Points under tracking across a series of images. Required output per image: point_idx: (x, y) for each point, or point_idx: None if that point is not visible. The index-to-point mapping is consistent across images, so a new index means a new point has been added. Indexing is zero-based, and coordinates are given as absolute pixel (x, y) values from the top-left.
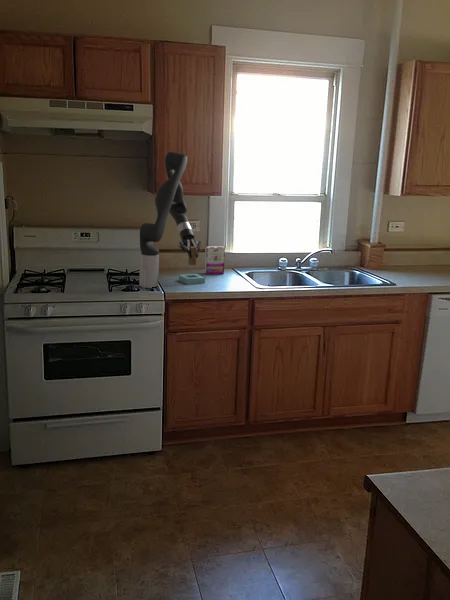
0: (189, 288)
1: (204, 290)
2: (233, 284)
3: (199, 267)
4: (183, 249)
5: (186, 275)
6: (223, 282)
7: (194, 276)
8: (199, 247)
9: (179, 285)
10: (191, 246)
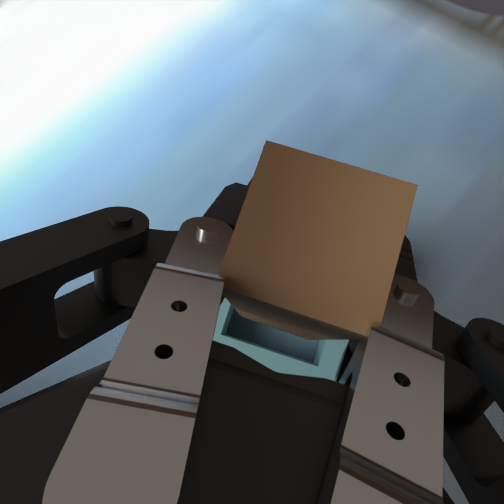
0: (453, 141)
1: (396, 46)
2: (87, 69)
3: None
4: (480, 443)
5: (299, 361)
6: (94, 150)
7: (223, 330)
8: (89, 226)
9: (460, 254)
10: (311, 313)
